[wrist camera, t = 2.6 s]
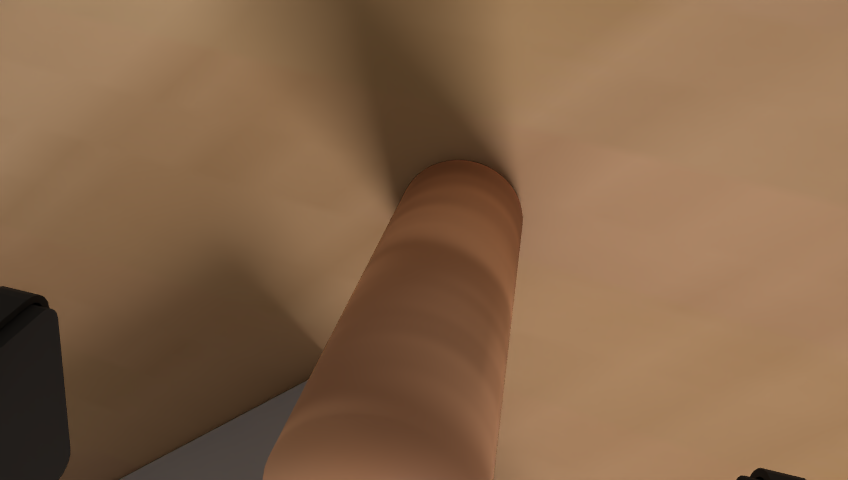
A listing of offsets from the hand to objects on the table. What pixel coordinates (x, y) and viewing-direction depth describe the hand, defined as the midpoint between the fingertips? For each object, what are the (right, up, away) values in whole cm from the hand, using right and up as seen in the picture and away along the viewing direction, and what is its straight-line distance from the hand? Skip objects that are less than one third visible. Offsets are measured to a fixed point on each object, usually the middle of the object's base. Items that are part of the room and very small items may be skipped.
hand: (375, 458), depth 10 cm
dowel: (+2, +4, +9) cm, 10 cm away
